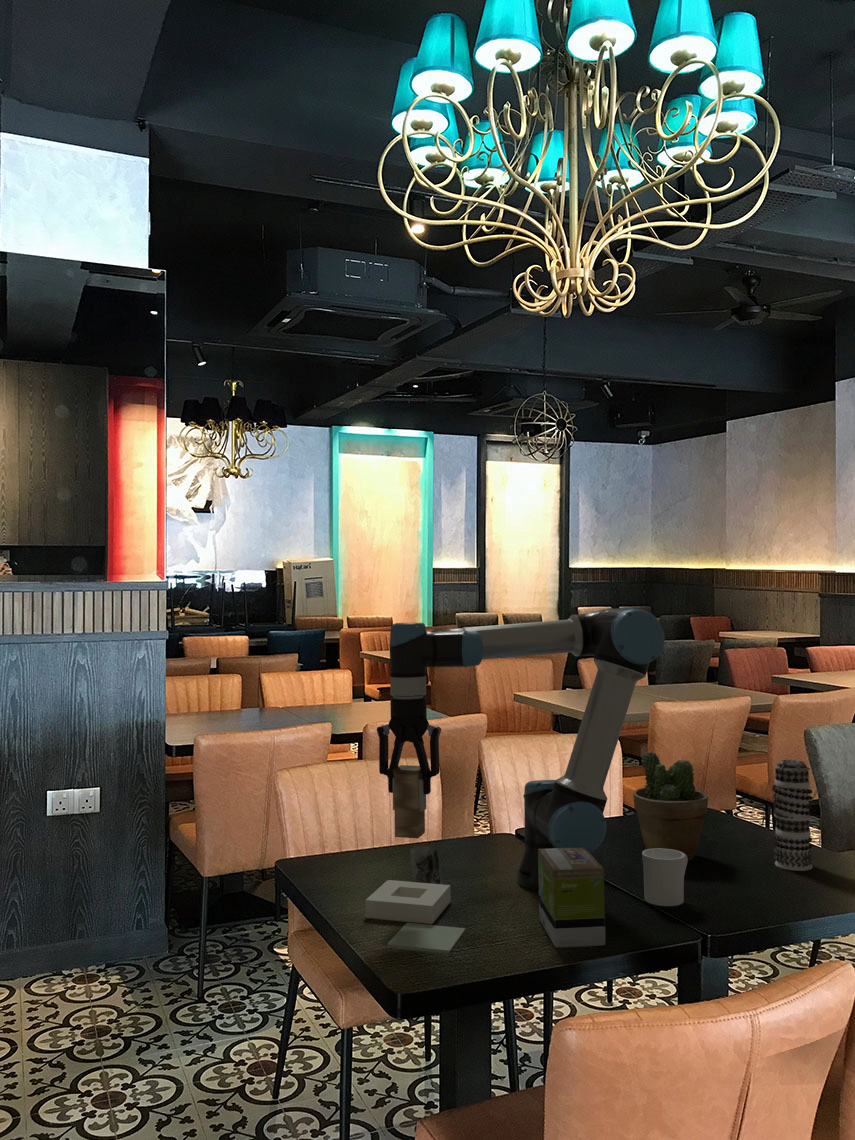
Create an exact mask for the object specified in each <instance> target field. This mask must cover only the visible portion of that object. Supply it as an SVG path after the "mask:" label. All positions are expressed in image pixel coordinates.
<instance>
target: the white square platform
mask: <svg viewBox="0 0 855 1140" xmlns="http://www.w3.org/2000/svg"><path fill="white" fill-rule="evenodd" d="M451 895H452V894H451V884H443V883H442V884H430V883H418V882H414V881H406V880H393V879H392V880H391V879H387V880H386V881H385V882H384V883H383V884H381V886H379V887H378V888H377V889H376V890H375V891H374V892H373V893H372V894H370V895H369V896H368V897H367V898H366V899H365V919H374V920H375V919H376V920H377V919H378V920H385V921H386V920H387V921H395V922H406V923H415V924H426V925H433V924H434V923H435V922H436V920H438V918H439V917H440V915H441V914H442V913H443V912H444V911H445V909H446V908H447V907H448V906H449V904H451V898H452V897H451Z"/></svg>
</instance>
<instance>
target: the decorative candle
mask: <svg viewBox="0 0 855 1140" xmlns="http://www.w3.org/2000/svg"><path fill="white" fill-rule="evenodd" d="M773 767H774V769H775V771H774V772H775V778H774V783H773V785H772V787H771V790H772V792H773V794H772V799H774V800H773V802H772V805H773V806H774V807H775V808H774V809H773V816H774V818H776V819H775V823H776V824H775V834H774V836H773V838H774V839H775V841H774V846H776V847H775V848H774V850H773V851H774V854H775V855H774V860H775V862H774V865H775V866H776V867H777V868H780V869H783V870H787V871H797V872H798V871H799V872H802V871H803V872H804V871H810V870H812V869H813V865H812V863H813V861H814V860H813V858H812V856H813V852H812V850H811V849H812V847H813V845H812V841H813V838H812V837H811V836H812V835H811V829H810V826H811V825H810V820H812V814H813V812H812V811H811V809H812V808H813V805H812V804H811V803H809V802H811V801H812V800H813V799H814V798H813V797H812V796H811V795H812V793H813V790H812V789H811V788H810V787H811V786H810V779H809V777H810V776H809V775H810V774H809V771H810V769H811V768H809V767H808V766H807V765H806V763H805V762H803V761H801V760H798V759H796V760H794V759H782V760H780V761H778V763H777V764H776V765H774V766H773Z"/></svg>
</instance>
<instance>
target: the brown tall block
mask: <svg viewBox="0 0 855 1140" xmlns="http://www.w3.org/2000/svg"><path fill="white" fill-rule="evenodd" d="M393 774H394V810H393V812H394V838H403V839H404V838H405V839H419V838H420V837H422V836H423V835H424V834H425V833H426V813H425V812H426V810H424V811H423V812H421V811H419V779H421V778H422V773H421V769H420V765H408V764H407V765H405V764H401V765H400V764H399V765H398V767H397V768H395V769H393Z"/></svg>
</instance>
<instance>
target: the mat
mask: <svg viewBox="0 0 855 1140" xmlns="http://www.w3.org/2000/svg"><path fill="white" fill-rule="evenodd" d="M466 929H467V928H466V927H455V926H445V925H444V926H443V925H433V924H426V923H416V922H406V923H405V924H404V925H403V926H402V927H401V929H400V930H398V932H397V933H396V934H395V935H394V936H393V937H392V938H391V939H390V940H389V941H388V942H387V944H386V947H387V949H388V948H389V949H397V950H398V949H400V950H408V951H420V952H428V953H437V954H446V955H450V954H451V952H452V951H451V950H452V949H453V948H454V946H455V944H456V943H457V942H458V940H459V939H460V937H462V935H463V934H464V932H465V930H466Z"/></svg>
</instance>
